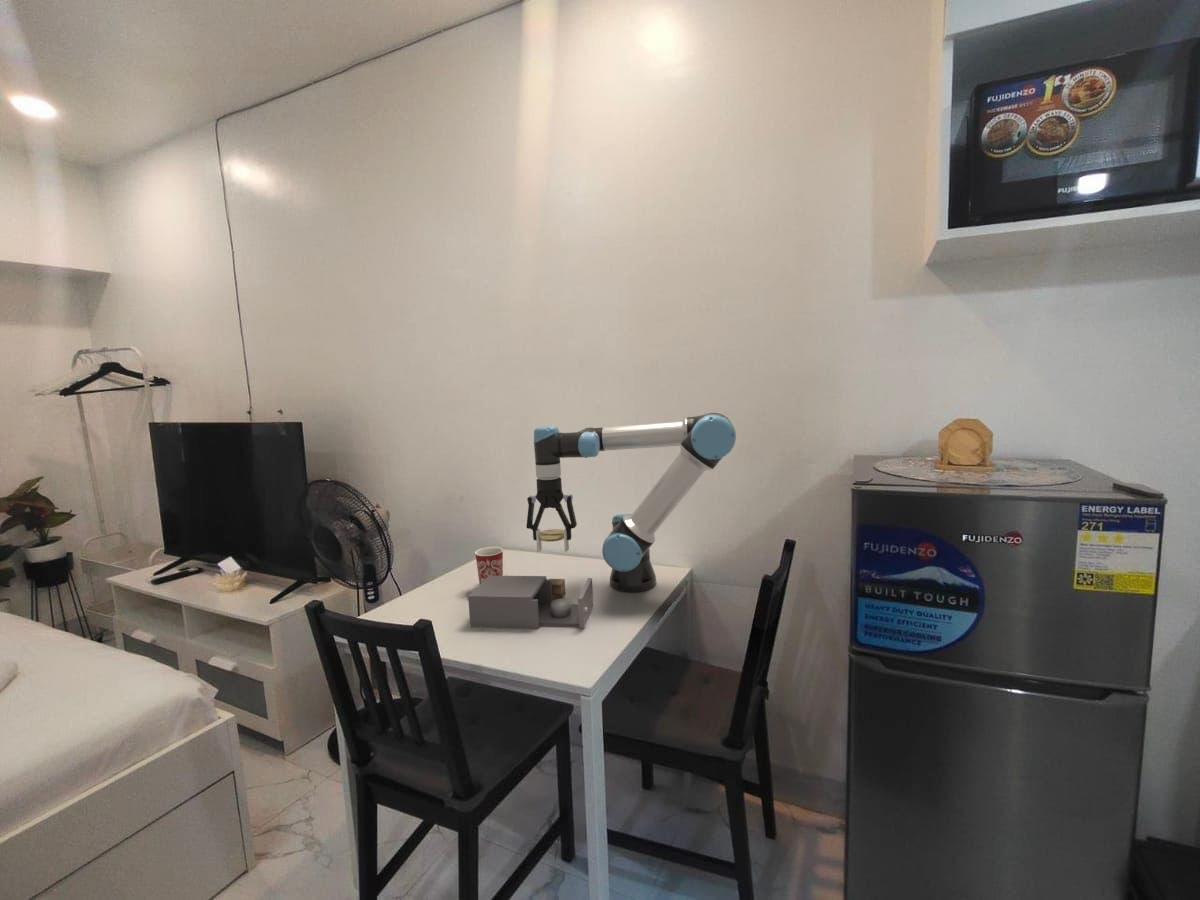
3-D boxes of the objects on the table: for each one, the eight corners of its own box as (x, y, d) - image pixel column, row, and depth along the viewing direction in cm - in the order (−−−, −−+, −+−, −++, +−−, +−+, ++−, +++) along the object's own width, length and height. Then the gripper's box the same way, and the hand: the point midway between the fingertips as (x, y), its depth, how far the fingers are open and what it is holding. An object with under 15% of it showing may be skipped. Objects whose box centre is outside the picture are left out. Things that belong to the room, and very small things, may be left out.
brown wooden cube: (565, 594, 168) (564, 578, 168) (561, 600, 164) (561, 584, 163) (550, 593, 169) (549, 578, 169) (546, 600, 164) (545, 584, 164)
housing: (552, 604, 160) (551, 576, 159) (538, 629, 145) (536, 597, 144) (491, 603, 164) (488, 575, 163) (470, 627, 148) (468, 596, 147)
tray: (595, 605, 158) (594, 578, 157) (586, 628, 143) (584, 598, 142) (529, 604, 161) (527, 577, 160) (513, 626, 146) (511, 597, 145)
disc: (567, 533, 167) (567, 528, 167) (562, 541, 159) (562, 536, 159) (542, 534, 168) (542, 529, 168) (536, 541, 161) (536, 536, 160)
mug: (505, 594, 170) (502, 553, 169) (476, 597, 169) (473, 556, 168) (507, 580, 183) (504, 542, 181) (480, 583, 182) (477, 544, 180)
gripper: (584, 474, 164) (588, 546, 167) (519, 476, 167) (523, 546, 169) (580, 478, 157) (584, 553, 159) (511, 480, 159) (517, 554, 162)
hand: (553, 550), depth 164 cm, fingers closed on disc, 8 cm apart
